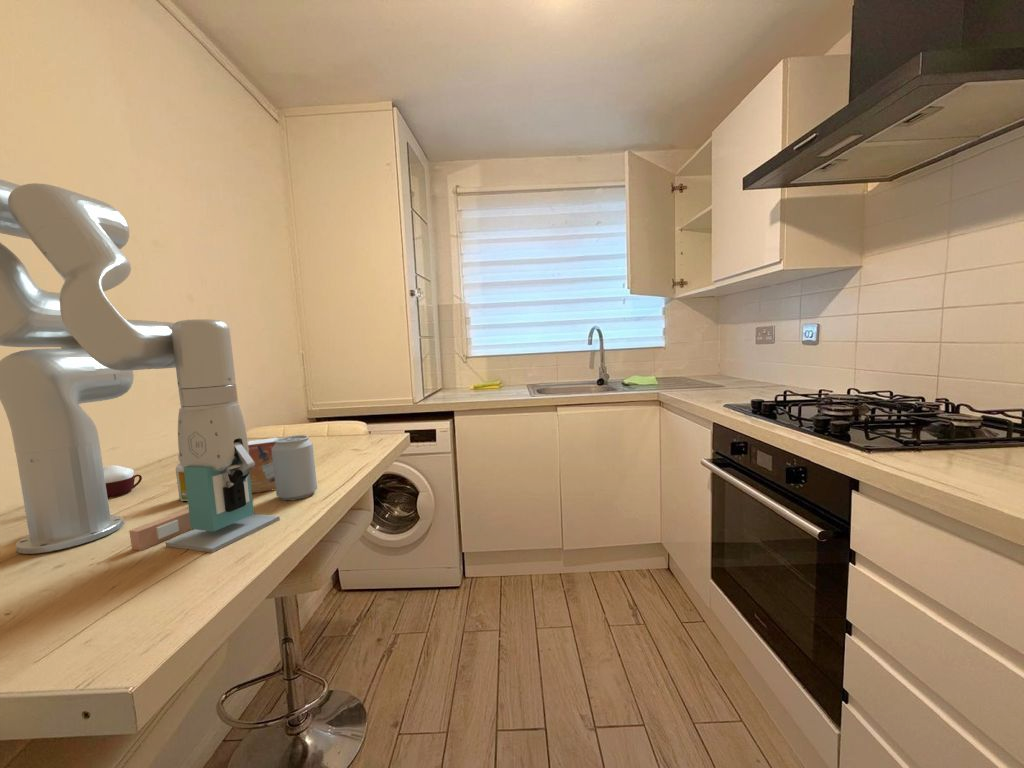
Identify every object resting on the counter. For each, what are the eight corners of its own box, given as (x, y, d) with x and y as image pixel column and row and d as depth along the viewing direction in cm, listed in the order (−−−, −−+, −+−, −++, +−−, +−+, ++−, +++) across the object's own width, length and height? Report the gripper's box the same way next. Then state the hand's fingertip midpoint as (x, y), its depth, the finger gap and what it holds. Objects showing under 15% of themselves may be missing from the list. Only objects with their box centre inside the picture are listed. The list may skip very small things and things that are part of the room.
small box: (238, 496, 88) (232, 446, 87) (241, 489, 93) (235, 442, 92) (282, 488, 92) (276, 440, 91) (282, 482, 97) (277, 436, 96)
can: (306, 501, 83) (300, 440, 82) (268, 503, 83) (262, 442, 82) (324, 488, 91) (318, 432, 90) (289, 489, 91) (283, 434, 90)
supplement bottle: (216, 495, 90) (210, 450, 89) (186, 504, 86) (180, 456, 85) (204, 491, 93) (199, 448, 92) (175, 500, 88) (169, 454, 88)
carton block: (232, 511, 74) (225, 455, 73) (254, 513, 73) (248, 456, 72) (191, 528, 68) (183, 467, 67) (215, 531, 66) (207, 468, 65)
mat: (166, 546, 66) (165, 542, 66) (237, 515, 78) (236, 512, 78) (212, 552, 63) (212, 548, 63) (279, 519, 74) (279, 516, 74)
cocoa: (143, 488, 99) (139, 437, 99) (141, 494, 94) (137, 440, 94) (86, 497, 94) (81, 443, 93) (81, 504, 89) (76, 446, 88)
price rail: (131, 549, 66) (129, 530, 66) (229, 509, 81) (227, 494, 81) (141, 550, 65) (139, 531, 65) (238, 510, 80) (236, 494, 80)
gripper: (147, 401, 67) (162, 512, 69) (226, 400, 62) (240, 520, 64) (195, 395, 75) (207, 496, 76) (270, 393, 69) (282, 502, 71)
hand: (222, 506), depth 70 cm, fingers closed on carton block, 5 cm apart
